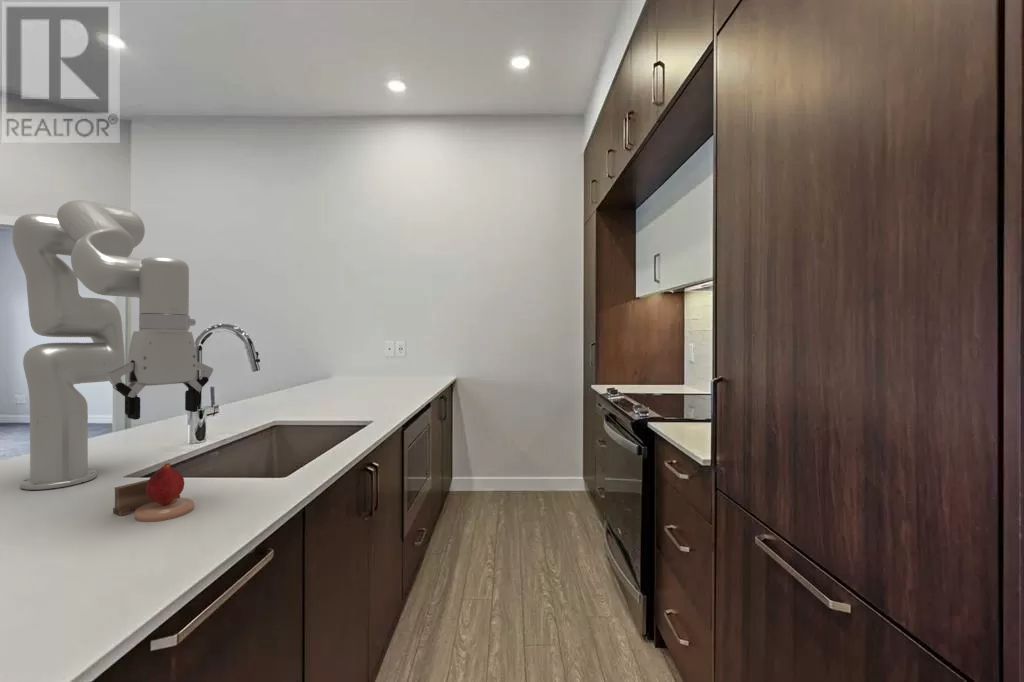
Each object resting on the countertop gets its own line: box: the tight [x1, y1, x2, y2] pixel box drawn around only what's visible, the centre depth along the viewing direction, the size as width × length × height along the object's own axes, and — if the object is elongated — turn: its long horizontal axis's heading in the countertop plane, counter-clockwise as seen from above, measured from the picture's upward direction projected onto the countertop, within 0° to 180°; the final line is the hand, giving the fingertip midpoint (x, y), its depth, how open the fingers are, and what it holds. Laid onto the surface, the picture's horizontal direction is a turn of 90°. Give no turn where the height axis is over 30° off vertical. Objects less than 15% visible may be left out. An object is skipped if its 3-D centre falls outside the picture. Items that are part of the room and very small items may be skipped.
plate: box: [134, 497, 195, 523], centre depth 90 cm, size 9×9×1 cm
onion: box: [146, 462, 185, 506], centre depth 90 cm, size 6×6×8 cm
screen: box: [112, 479, 181, 517], centre depth 93 cm, size 3×10×5 cm, turn 151°
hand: (163, 414), depth 90 cm, fingers open, 9 cm apart
